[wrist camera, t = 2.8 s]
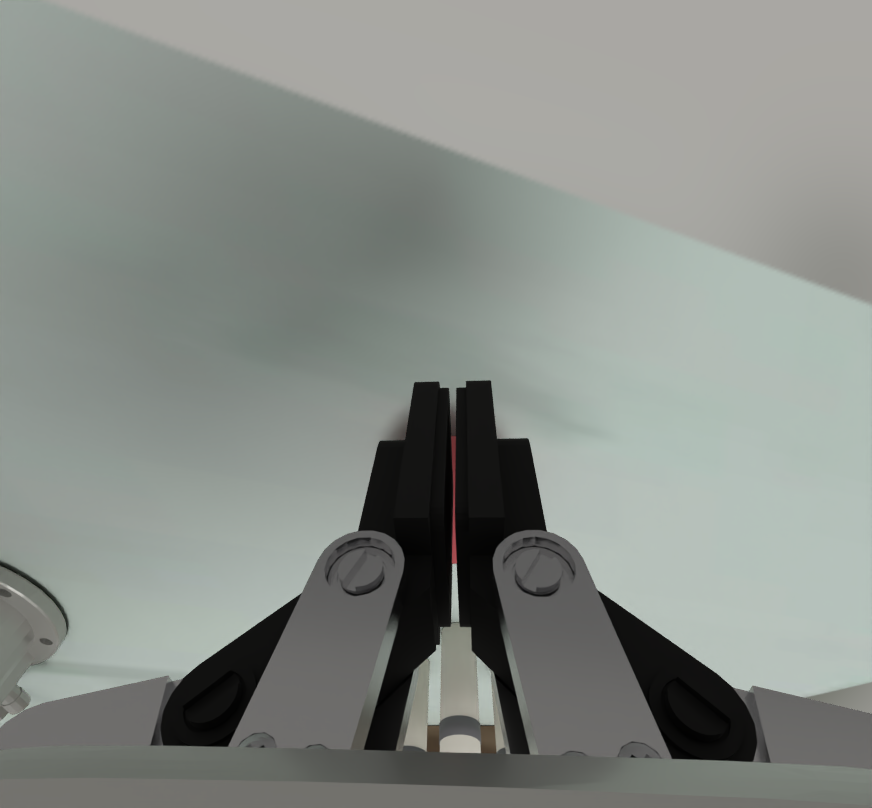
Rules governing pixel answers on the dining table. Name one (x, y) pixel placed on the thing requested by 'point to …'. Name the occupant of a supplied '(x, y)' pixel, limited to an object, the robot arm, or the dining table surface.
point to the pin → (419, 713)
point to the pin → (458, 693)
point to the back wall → (486, 739)
